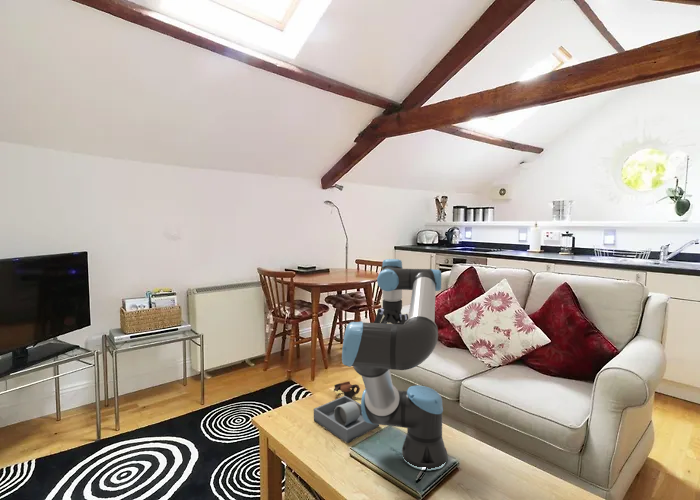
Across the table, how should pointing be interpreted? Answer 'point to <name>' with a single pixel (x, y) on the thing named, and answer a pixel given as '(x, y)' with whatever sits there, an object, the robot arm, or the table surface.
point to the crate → (328, 421)
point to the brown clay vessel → (347, 389)
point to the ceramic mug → (347, 413)
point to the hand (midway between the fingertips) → (392, 352)
